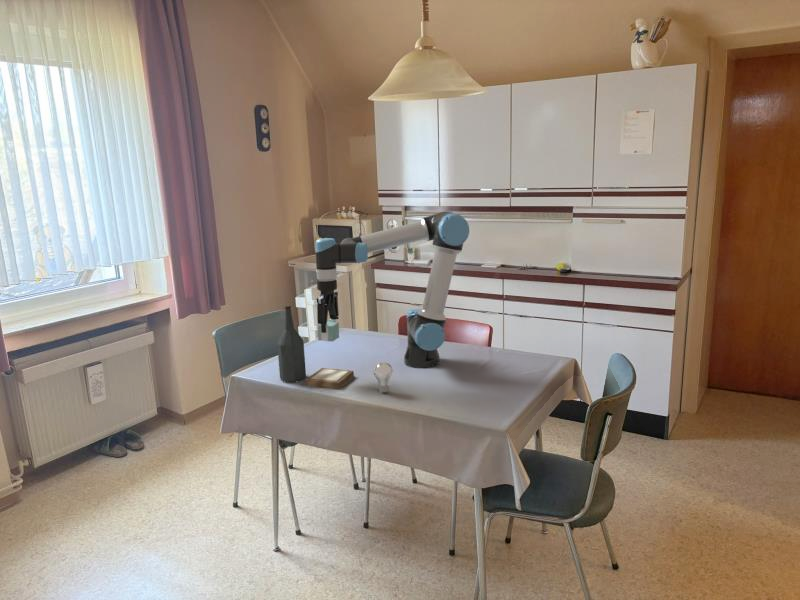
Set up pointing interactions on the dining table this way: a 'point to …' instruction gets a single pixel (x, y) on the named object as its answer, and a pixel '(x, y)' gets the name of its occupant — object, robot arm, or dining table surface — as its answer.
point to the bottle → (291, 352)
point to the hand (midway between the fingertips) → (329, 337)
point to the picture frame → (330, 378)
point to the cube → (330, 331)
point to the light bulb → (383, 375)
